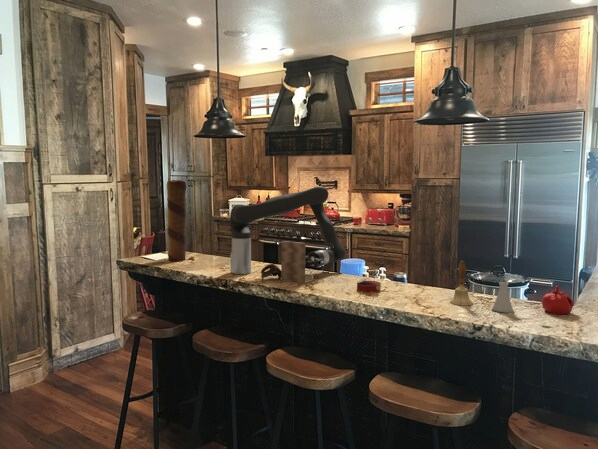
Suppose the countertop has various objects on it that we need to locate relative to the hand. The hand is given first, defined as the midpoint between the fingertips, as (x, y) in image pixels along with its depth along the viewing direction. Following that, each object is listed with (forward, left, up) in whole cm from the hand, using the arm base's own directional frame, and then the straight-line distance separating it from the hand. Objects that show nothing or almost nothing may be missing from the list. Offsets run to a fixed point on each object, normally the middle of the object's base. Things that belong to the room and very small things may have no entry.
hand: (298, 263), depth 218 cm
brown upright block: (0, -2, -8) cm, 8 cm away
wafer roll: (-86, +4, -8) cm, 86 cm away
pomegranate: (+103, +10, -8) cm, 104 cm away
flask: (+87, +1, -8) cm, 87 cm away
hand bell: (+72, +3, -8) cm, 73 cm away
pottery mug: (-11, -5, -8) cm, 15 cm away
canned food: (+34, +2, -8) cm, 35 cm away
